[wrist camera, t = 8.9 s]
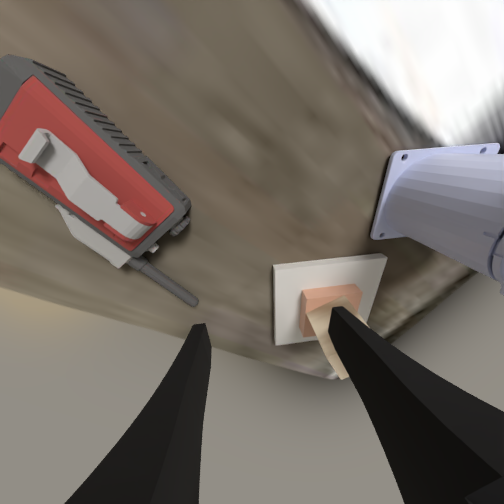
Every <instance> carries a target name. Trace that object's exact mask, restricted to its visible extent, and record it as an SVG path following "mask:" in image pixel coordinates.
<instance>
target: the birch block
mask: <svg viewBox="0 0 504 504" xmlns="http://www.w3.org/2000/svg"><path fill="white" fill-rule="evenodd" d="M338 306H343V307H345V308H346V309H347V310H348V311H349V312H351V313H352V314H353V315H354V316H356V317H357V318H358V319H359V320H360V321H362V322H363V323H364V324H365V325H367V324H366V322H365V321H364V320H363V318H362V317H361V316H360V315H359V313H358V312H357V311H356V309H355V308H354V307H353V306H352V304H351V303H350V302H349V300H348V299H347V298H346V297H345V295H343V296H341V297H339V298H337V299H335V300H333V301H331V302H329V303H327V304H324V305H322V306H320V307H318V308H316V309H314V310H312V311H310V312H307V313H306V314H307V316H308V319H309V321H310V323H311V325H312V327H313V329H314V332H315V334H316V336H317V338H318V340H319V342H320V345H321V347H322V349H323V351H324V353H325V356H326V358H327V359H328V361H329V362H330V364H331V365H332V367H333V368H334V370H335V371H336V373H337V374H338V376H339V377H340V379H341V380H342V379H345V378H347V377H349V375H348V373H347V371H346V369H345V367H344V366H343V364H342V362H341V360H340V358H339V356H338V354H337V352H336V351H335V348H334V346H333V344H332V341H331V339H330V336H329V334H328V327H329V322H330V316H331V311H332V307H338ZM367 326H368V325H367ZM368 327H369V326H368ZM369 328H370V327H369Z"/></svg>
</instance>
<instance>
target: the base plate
mask: <svg viewBox="0 0 504 504" xmlns="http://www.w3.org/2000/svg"><path fill="white" fill-rule="evenodd" d="M387 258H388V257H386V256H385V255H383V254H382V253H377V254H368V255H358V256H349V257H340V258H331V259H322V260H313V261H304V262H295V263H286V264H277V265H273V297H274V340H275V345H284V344H291V343H299V342H306V341H313V340H318V338H317V336H316V334H315V332H314V329H313V327H312V325H311V323H310V321H309V319H308V316H307V314H306V313H307V312H310V311H312V310H314V309H316V308H318V307H320V306H322V305H324V304H327V303H329V302H331V301H333V300H335V299H337V298H339V297H341V296H343V295H345V297H346V298H347V299H348V300H349V302H350V303H351V304H352V306H353V307H354V308H355V309H356V311H357V312H358V313H359V315H360V316H361V317H362V318H363V320H364V321H365V322H366V323H367V320H368V317H369V314H370V311H371V308H372V305H373V302H374V299H375V295H376V292H377V289H378V286H379V283H380V280H381V277H382V274H383V271H384V268H385V264H386V261H387Z"/></svg>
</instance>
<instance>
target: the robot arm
mask: <svg viewBox="0 0 504 504" xmlns="http://www.w3.org/2000/svg"><path fill="white" fill-rule="evenodd" d="M499 148H500V145H499V143H489V144H476V145H464V146H451V147H439V148H426V149H414V150H402V151H395V152H394V153H393V154H392V155H391V157H390V160H389V164H388V168H387V172H386V175H385V179H384V183H383V187H382V191H381V195H380V199H379V203H378V207H377V211H376V215H375V219H374V223H373V227H372V230H371V234H370V237H371V238H372V239H374V240H380V239H390V238H399V237H409V238H411V239H413V240H415V241H417V242H419V243H421V244H423V245H425V246H428V247H430V248H432V249H434V250H436V251H438V252H440V253H442V254H444V255H446V256H448V257H450V258H452V259H454V260H456V261H458V262H460V263H462V264H464V265H466V266H468V267H470V268H472V269H474V270H476V271H478V272H480V273H482V274H484V275H486V276H488V277H490V278H493V279H495V280H497V281H498V282H500V284H501V290H500V293H501V294H502V295H504V154H497V153H498V151H499ZM403 155H404V158H403V159H401V158H402V156H403ZM381 233H382V234H381ZM380 234H381V235H380ZM328 334H329V336H330V339H331V341H332V344H333V346H334V348H335V351H336V352H337V354H338V356H339V358H340V360H341V362H342V364H343V366H344V367H345V369H346V371H347V373H348V375H349V377H350V378H351V380H352V382H353V384H354V386H355V388H356V389H357V391H358V393H359V395H360V397H361V399H362V401H363V403H364V405H365V408H366V410H367V412H368V414H369V417H370V419H371V421H372V423H373V425H374V428H375V430H376V433H377V435H378V437H379V440H380V442H381V445H382V447H383V449H384V452H385V454H386V457H387V459H388V462H389V464H390V467H391V469H392V472H393V474H394V477H395V479H396V482H397V484H398V487H399V490H400V493H401V495H402V498H403V501H404V503H405V504H504V412H503V411H501V410H499V409H497V408H495V407H493V406H492V405H490V404H488V403H486V402H484V401H482V400H480V399H478V398H477V397H475V396H473V395H471V394H469V393H467V392H466V391H463V390H462V389H460V388H459V387H457V386H455V385H453V384H452V383H450V382H448V381H446V380H445V379H443V378H441V377H440V376H438V375H436V374H435V373H433V372H431V371H430V370H428V369H427V368H425V367H424V366H422V365H421V364H419V363H418V362H416V361H414V360H413V359H411V358H410V357H408V356H407V355H405V354H404V353H402V352H401V351H400V350H398V349H397V348H396V347H394V346H393V345H391V344H390V343H389V342H387V341H386V340H385V339H383V338H382V337H381V336H379V335H378V334H377V333H376V332H374V331H373V330H372V329H370V328H369V327H368V326H367V325H365V324H364V323H363V322H362V321H360V320H359V319H358V318H357V317H356V316H354V315H353V314H352V313H351V312H349V311H348V310H347V309H346V308H345V307H343V306H338V307H332V311H331V316H330V322H329V327H328ZM211 348H212V347H211V343H210V339H209V336H208V332H207V328H206V324H205V323H203V324H195V325H193V326H192V328H191V330H190V332H189V334H188V336H187V338H186V340H185V343H184V344H183V346H182V348H181V350H180V352H179V353H178V355H177V357H176V359H175V361H174V362H173V364H172V366H171V367H170V369H169V371H168V372H167V374H166V376H165V377H164V379H163V380H162V382H161V383H160V385H159V387H158V388H157V389H156V391H155V393H154V394H153V395H152V397H151V398H150V400H149V401H148V403H147V404H146V405H145V407H144V408H143V410H142V411H141V412H140V414H139V415H138V416H137V418H136V419H135V420H134V422H133V423H132V424H131V426H130V427H129V428H128V430H127V431H126V432H125V433H124V435H123V436H122V437H121V438H120V440H119V441H118V442H117V444H116V445H115V446H114V447H113V448H112V449H111V451H110V452H109V453H108V454H107V455H106V457H105V458H104V459H103V460H102V461H101V463H100V464H99V465H98V466H97V468H96V469H95V470H94V471H93V472H92V473H91V475H90V476H89V477H88V478H87V479H86V480H85V481H84V482H83V484H82V485H81V486H80V487H79V488H78V489H77V490H76V491H75V493H74V494H73V495H72V496H71V497H70V498H69V499H68V500H67V501H66V502H65V504H199V480H200V462H201V445H202V430H203V420H204V412H205V404H206V397H207V390H208V382H209V375H210V369H211Z"/></svg>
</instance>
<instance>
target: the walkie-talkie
mask: <svg viewBox="0 0 504 504" xmlns="http://www.w3.org/2000/svg"><path fill="white" fill-rule="evenodd" d="M91 102H92V101H91V100H90V99H89V98H86V97H85V96H84V95H83V92H82V91H81V90H79V89H77V88H76V87H75V84H74V83H73V82H72V81H70V80H68V79H67V78H66V75H65V74H63V73H61V72H59V71H56V70H54V69H52V68H50V67H48V66H45V65H43V64H41V63H39V62H36V61H34V60H32V59H27V58H23V57H19V56H14V55H10V54H8V55H6V56H4V57H2V58H0V163H1V164H3V165H5V166H6V167H7V168H8V169H9V170H10V171H13V172H14V173H16V174H17V175H18V176H19V177H20V178H23V179H24V180H26V181H27V182H28V183H29V184H30V185H33V186H34V187H35V188H37V190H38V191H41V192H42V193H44V194H45V195H46V196H47V197H48V198H51V199H52V200H54V202H55V203H58V204H57V205H56V206H55V207H56V208H57V209H59V211H60V213H61V215H62V217H63V219H64V220H65V222H66V224H67V226H68V228H69V230H70V232H71V233H72V235H73V237H75V238H76V239H77V240H79V241H80V242H82V243H83V244H85V245H86V246H88V247H89V248H91V249H92V250H94V251H95V252H97V253H98V254H100V255H101V256H103V257H104V258H106V259H107V260H109V261H110V263H111V264H112V265H114V266H115V267H117V268H118V269H119V268H120V267H121V266H122V265H123V264H125V263H127V264H128V265H129V266H131V267H132V268H134V269H135V270H137V271H141V272H142V273H144V274H145V275H147V276H148V277H150V278H151V279H153V280H154V281H155V282H157V283H158V284H160V285H161V286H163V287H164V288H166V289H167V290H168V291H170V292H171V293H173V294H174V295H176V296H177V297H179V298H180V299H181V300H183V301H184V302H186V303H187V304H189V305H190V306H192V307H194V306H196V305H197V304H198V301H199V300H198V298H196V297H195V296H194V295H192V294H191V293H190V292H188V291H187V290H185V289H184V288H183V287H181V286H180V285H179V284H177V283H176V282H174V281H173V280H172V279H170V278H169V277H168V276H166V275H165V274H163V273H162V272H161V271H159V270H158V269H157V268H155V267H154V266H153V265H151V264H150V263H148V260H147V259H146V258H144V257H143V256H142V254H143V253H144V252H145V251H150V252H152V253H154V252H155V251H156V250H157V249H158V248H159V245H158V244H156V242H157V240H158V239H159V238H160V237H161V236H162V235H163V234H164V233H165V232H167V231H168V230H169V229H170V232H169V234H170V235H172V236H176V235H178V234H179V233H180V232H181V231H182V230H183V229H184V228H185V227H186V226H187V225H188V224H189V222H190V218H189V217H188V216H184V217H183V215H184V214H185V213H186V212H187V211H188V209H189V208H190V207H191V201H190V199H189V198H188V197H187V196H186V195H185V194H184V193H183V192H182V191H181V190H180V189H179V188H178V187H177V186H176V185H175V184H174V183H173V182H172V181H171V180H170V179H169V178H168V177H167V176H166V175H165V174H164V173H163V172H162V171H161V170H160V169H159V168H158V167H157V166H156V165H155V164H154V163H153V162H152V161H151V160H150V159H149V158H148V157H147V156H144V155H143V154H142V153H141V152H142V151H141V150H140V149H137V148H136V147H135V144H134V143H131V142H130V141H129V140H128V137H127V136H124V135H123V134H122V133H121V132H122V131H121V130H120V129H117V128H116V127H115V126H114V123H113V122H111V121H109V120H108V119H107V116H106V115H105V114H102V113H101V112H100V111H99V108H98V107H97V106H94V105H93V104H92V103H91Z"/></svg>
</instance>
